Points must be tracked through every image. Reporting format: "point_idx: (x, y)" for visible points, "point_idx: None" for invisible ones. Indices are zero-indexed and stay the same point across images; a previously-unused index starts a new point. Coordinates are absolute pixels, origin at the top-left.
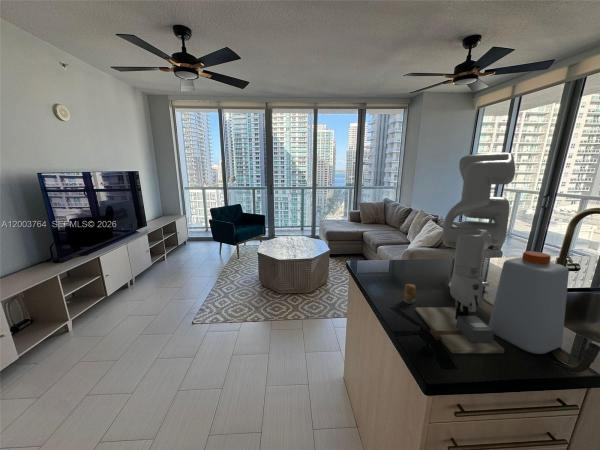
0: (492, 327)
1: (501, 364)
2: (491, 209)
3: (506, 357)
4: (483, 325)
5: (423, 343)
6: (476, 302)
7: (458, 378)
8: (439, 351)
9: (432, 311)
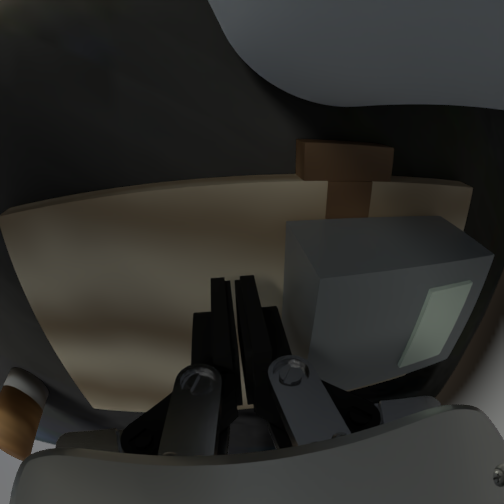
0: (348, 105)
1: (482, 242)
2: None
3: (473, 193)
4: (454, 299)
5: None
6: (433, 463)
7: (453, 365)
8: (379, 389)
9: (104, 370)
